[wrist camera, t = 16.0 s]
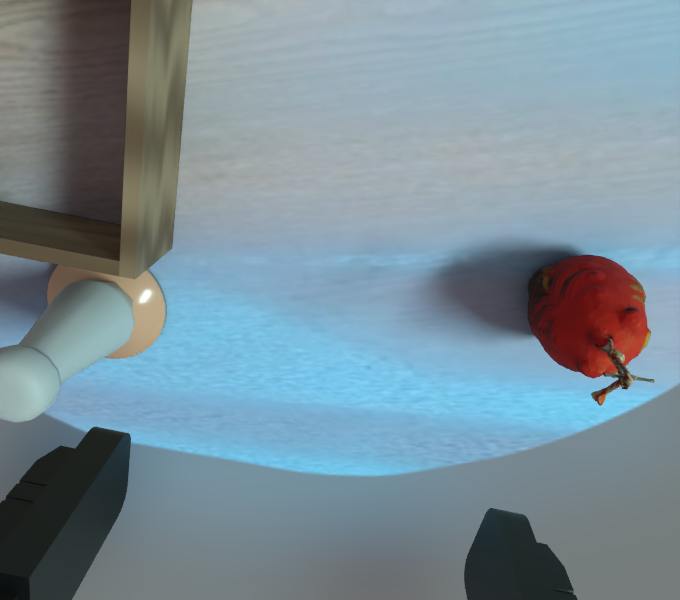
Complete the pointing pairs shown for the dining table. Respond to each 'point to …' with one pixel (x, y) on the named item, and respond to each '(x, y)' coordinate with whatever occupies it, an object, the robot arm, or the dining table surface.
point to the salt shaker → (63, 345)
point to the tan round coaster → (145, 304)
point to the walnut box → (125, 162)
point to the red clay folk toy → (590, 318)
